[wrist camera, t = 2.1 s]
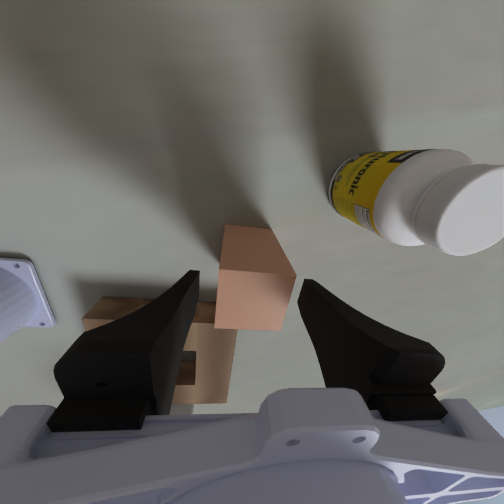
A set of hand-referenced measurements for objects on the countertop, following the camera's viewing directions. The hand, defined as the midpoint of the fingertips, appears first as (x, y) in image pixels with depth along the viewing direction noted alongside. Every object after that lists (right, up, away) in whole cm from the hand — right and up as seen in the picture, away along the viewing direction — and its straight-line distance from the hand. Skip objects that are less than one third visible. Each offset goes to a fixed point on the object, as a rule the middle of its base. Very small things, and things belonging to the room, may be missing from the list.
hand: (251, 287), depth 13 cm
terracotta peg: (-1, +3, +6) cm, 6 cm away
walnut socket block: (-9, -9, +11) cm, 17 cm away
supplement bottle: (+9, +8, +4) cm, 13 cm away
